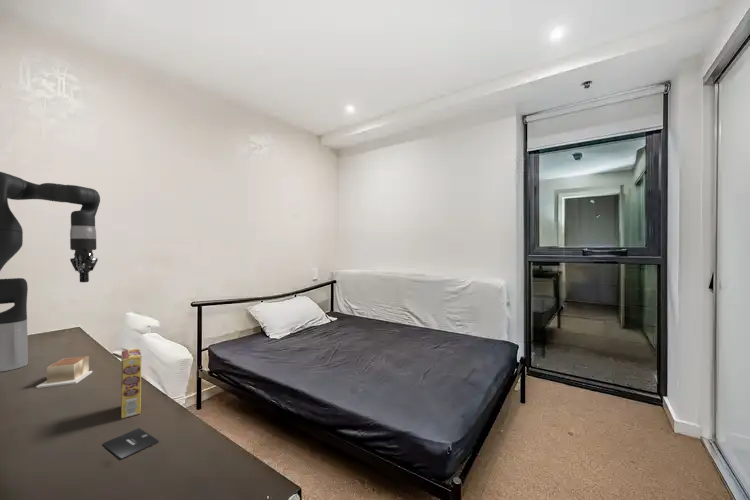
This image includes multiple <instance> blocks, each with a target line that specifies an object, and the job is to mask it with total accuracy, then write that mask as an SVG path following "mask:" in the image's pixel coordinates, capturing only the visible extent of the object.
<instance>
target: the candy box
mask: <svg viewBox="0 0 750 500" xmlns="http://www.w3.org/2000/svg"><path fill="white" fill-rule="evenodd" d="M120 370H121V373H120V374H121V375H120V381H121V382H120V413H121V416H120V418H121V419H125V418H130V417H133V416H137V415H140V414H141V411H142V410H141V408H142V407H141V405H142V404H141V403H142V401H141V398H142V354H141V349H140V348H132V349H127V350H122V351H121V368H120Z"/></svg>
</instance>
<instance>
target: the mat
mask: <svg viewBox="0 0 750 500" xmlns="http://www.w3.org/2000/svg"><path fill="white" fill-rule="evenodd" d="M92 373H93V370H88V371H87V372H85V373H84V374H82V375H81V376H79V377H78V378H76V379H75V380H68V381H60V382H51V383H47V379H46V380H45V381H44V382H42V383H40V384H37V385H36V386H35V388H36V389H41V388H50V387H59V386H66V385H76V384H78V383H79V382H81V381H82V380H83V379H85V378H87V377H88V376H89V375H91V374H92Z"/></svg>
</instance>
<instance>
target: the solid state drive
mask: <svg viewBox="0 0 750 500" xmlns="http://www.w3.org/2000/svg"><path fill="white" fill-rule="evenodd" d="M157 444H159V440H158V439H157V438H155V437H154V436H152V435H151V434H150V433H148V432H146V431H145V430H143V429H141V428H140V427H139V428H136V429H133V430H131V431H129V432H126V433H123V434H122V435H119V436H117V437H115V438H112V439H110V440H107V441H105V442H103V443H102V446H103V447H104V448H105V449H107V450H108V451H109V452H110V453H112V454H113V455H114V456H116V457H115V458H118V459H119V460H120V461H122V460H124V459H126V458H129V457H131V456H133V455H135V454H137V453H139V452H141V451H144V450H146V449H147V448H149V447H152V446H154V445H157Z"/></svg>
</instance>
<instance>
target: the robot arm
mask: <svg viewBox="0 0 750 500" xmlns="http://www.w3.org/2000/svg"><path fill="white" fill-rule="evenodd" d="M8 200H12V201H13V200H15V201H22V200H23V201H25V200H40V201H41V200H43V201H48V202H56V203H57V202H58V203H68V204H75V205H80V206H81V208H80V210H73V211H72V212H71V213H70V229H69V237H70V239H69V240H70V241H69V245H70V246H69V247H70V248H69V249H70V250H71V251H74V254H73V255H74V257H73V258H70V262H71V265H72V267H73V269H74V271H75V272H78V273H79V283H88V282H89V281H90V275H89V274H90V273H91V271H94V268H95V266H96V264H97V263H98V259H99V258H97V257H94V253H93V251H95V250H97V229H96V215H97V213H98V209H99V205H100V203H101V196H100V194H99V191H97V190H96V189H95V188H91V187H84V186H80V185H74V184H62V183H54V182H53V183H52V182H45V183H40V184H38V183H33V182H30V181H27V180H25V179H24V178H23V179H22V178H21V177H18V176H16V175H15V176H14V175H12V174H9V173H6V172H4V171H0V272H1V270H2V269H3V268H4V266H5V265H6V264H7V263H8V262H9V261H10V260H11V259H12V258H13V257H14V256H15V255H16V254H17V253H18V252H19V251H20V250H21V248H22V246H23V243H24V241H23V238H24V237H23V234H24V233H23V232H24V231H23V227H22V226H21V224H20V222H19V220H18V219H17V217H16V216H15V214H14V213H13V212H12V210H11V208H10V206H9V201H8ZM4 304H14V305H13V306H11V307H10V308H8V309H5V310H4V311H1V312H0V372H7V371H12V370H17V369H19V368H23V367H26V366H27V365H28V359H29V355H28V354H29V353H28V352H29V351H28V350H29V349H28V348H29V347H28V342H29V341H28V309H27V308H28V307H27V306H28V305H27V304H28V281H27V279H25V278H21V277H15V278H14V277H12V278H11V277H10V278H0V305H4Z"/></svg>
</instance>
